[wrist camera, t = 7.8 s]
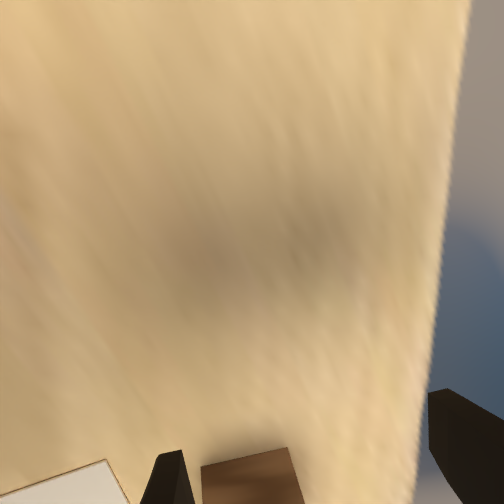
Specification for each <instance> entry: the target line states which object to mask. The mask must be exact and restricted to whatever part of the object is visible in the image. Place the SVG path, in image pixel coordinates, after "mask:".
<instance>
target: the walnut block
mask: <svg viewBox="0 0 504 504" xmlns="http://www.w3.org/2000/svg"><path fill="white" fill-rule="evenodd" d="M201 482H202V499H203V504H305V502H304V499H303V496H302V493H301V489H300V486H299V483H298V480H297V477H296V473H295V470H294V467H293V464H292V461H291V457H290V454H289V451H288V448H287V447H286V448H281V449H277V450H273V451H268V452H264V453H259V454H255V455H251V456H246V457H242V458H237V459H233V460H229V461H224V462H220V463H215V464H211V465H207V466H202V467H201Z"/></svg>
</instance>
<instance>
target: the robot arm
mask: <svg viewBox="0 0 504 504" xmlns="http://www.w3.org/2000/svg"><path fill="white" fill-rule="evenodd" d="M428 423H429V450H430V452H431V453H432V455H433V457H434V458H435V461H436V463H437V464H438V466H439V468H440V470H441V471H442V473H443V475H444V477H445V478H446V480H447V482H448V483H449V484H450V486H451V488H452V489H453V490H454V492H455V493H456V494H457V496H458V497H459V499H460V500H461V501H462V503H463V504H504V420H502V419H501V418H499V417H497V416H495V415H493V414H492V413H490V412H488V411H487V410H485V409H483V408H481V407H479V406H478V405H476V404H474V403H473V402H471V401H469V400H468V399H466V398H464V397H462V396H460V395H459V394H457V393H455V392H453V391H452V390H450V389H448V388H447V389H443V390H439V391H434V392H430V393H428ZM140 504H195V501H194V497H193V493H192V489H191V485H190V481H189V477H188V473H187V469H186V465H185V461H184V457H183V453H182V449H181V450H177V451H172V452H168V453H163V454H159V456H158V457H157V458H156V461H155V464H154V467H153V470H152V473H151V476H150V479H149V482H148V484H147V487H146V489H145V492H144V494H143V497H142V499H141V502H140Z"/></svg>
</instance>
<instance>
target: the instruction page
mask: <svg viewBox="0 0 504 504" xmlns="http://www.w3.org/2000/svg"><path fill="white" fill-rule="evenodd" d="M0 504H129V502H128V500H127V498H126V496H125V495H124V493H123V491H122V489H121V487H120V485H119V483H118V481H117V479H116V477H115V476H114V474H113V472H112V470H111V468H110V466H109V464H108V462H107V460H103V461H100V462H97V463H94V464H91V465H88V466H86V467H83V468H80V469H77V470H74V471H71V472H68V473H65V474H63V475H60V476H57V477H54V478H51V479H48V480H45V481H43V482H40V483H37V484H34V485H31V486H28V487H25V488H22V489H20V490H17V491H14V492H11V493H8V494H5V495H2V496H0Z"/></svg>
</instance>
